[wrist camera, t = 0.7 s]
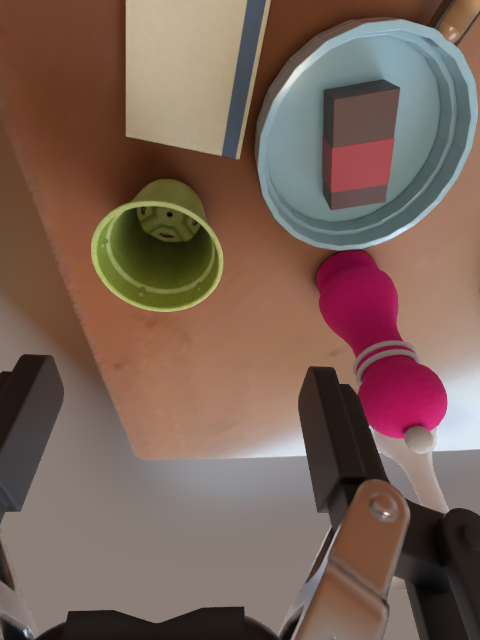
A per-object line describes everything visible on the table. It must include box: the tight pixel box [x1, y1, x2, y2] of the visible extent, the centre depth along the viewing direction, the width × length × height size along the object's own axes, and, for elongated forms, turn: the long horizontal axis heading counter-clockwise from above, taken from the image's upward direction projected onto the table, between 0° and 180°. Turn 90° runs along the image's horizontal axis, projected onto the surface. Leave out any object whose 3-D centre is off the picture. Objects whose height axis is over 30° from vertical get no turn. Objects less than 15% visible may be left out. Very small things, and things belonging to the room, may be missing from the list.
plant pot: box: [91, 179, 223, 312], centre depth 30 cm, size 9×9×9 cm
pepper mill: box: [316, 250, 447, 454], centre depth 31 cm, size 7×7×20 cm
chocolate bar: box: [322, 79, 400, 210], centre depth 28 cm, size 8×4×3 cm, turn 8°
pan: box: [254, 16, 478, 251], centre depth 28 cm, size 15×16×4 cm
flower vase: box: [372, 427, 449, 590], centre depth 47 cm, size 13×18×25 cm
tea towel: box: [126, 0, 271, 159], centre depth 24 cm, size 16×9×1 cm, turn 168°
